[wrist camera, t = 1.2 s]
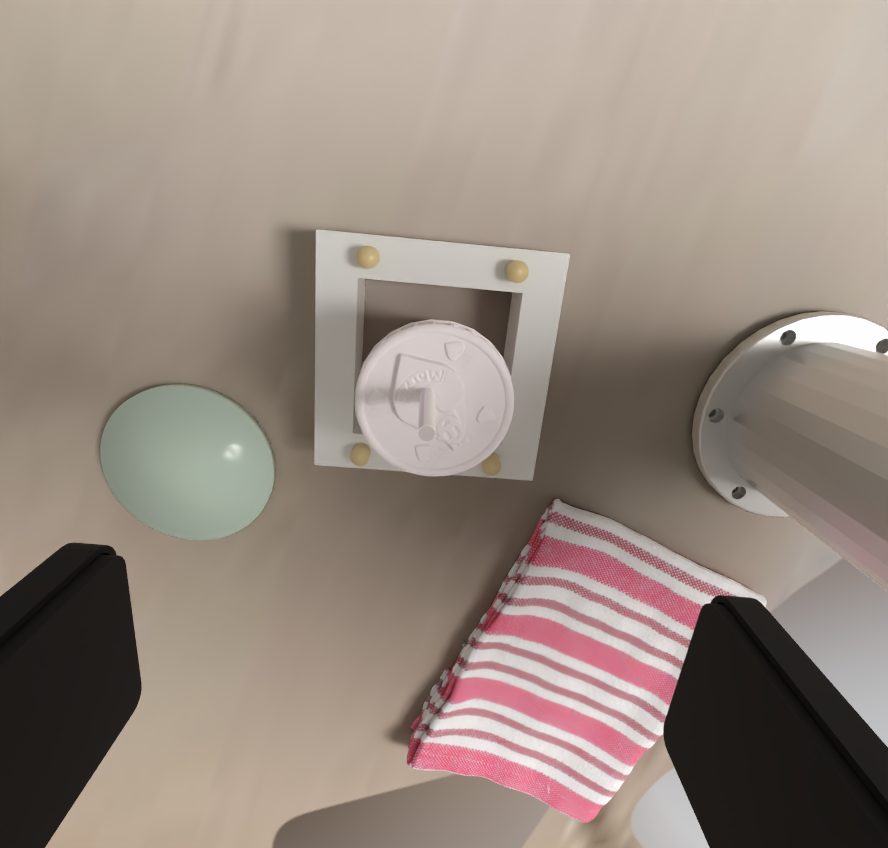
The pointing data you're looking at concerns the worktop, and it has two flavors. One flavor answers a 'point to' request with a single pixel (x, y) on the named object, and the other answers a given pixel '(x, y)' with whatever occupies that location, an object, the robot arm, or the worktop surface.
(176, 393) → the coaster
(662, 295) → the worktop surface
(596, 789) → the dish towel
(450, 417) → the smoothie
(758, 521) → the worktop surface
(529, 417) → the socket block
